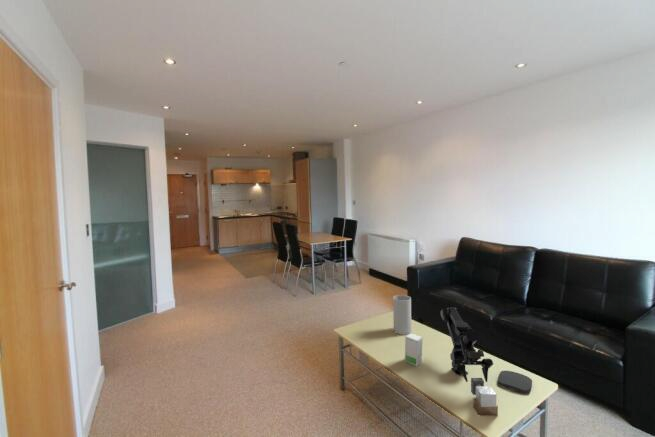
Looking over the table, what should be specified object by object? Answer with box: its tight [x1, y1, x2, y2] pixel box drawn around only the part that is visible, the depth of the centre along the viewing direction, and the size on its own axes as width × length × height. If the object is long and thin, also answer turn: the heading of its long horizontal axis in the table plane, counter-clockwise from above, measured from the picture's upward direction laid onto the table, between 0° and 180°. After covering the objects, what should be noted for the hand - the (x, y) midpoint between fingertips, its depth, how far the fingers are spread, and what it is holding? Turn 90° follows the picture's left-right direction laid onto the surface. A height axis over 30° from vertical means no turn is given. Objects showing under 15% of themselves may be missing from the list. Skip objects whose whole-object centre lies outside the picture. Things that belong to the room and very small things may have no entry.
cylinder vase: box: [392, 294, 412, 336], centre depth 229 cm, size 12×12×25 cm
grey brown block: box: [472, 385, 499, 417], centre depth 144 cm, size 6×8×10 cm
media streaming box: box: [497, 370, 533, 395], centre depth 164 cm, size 15×15×3 cm
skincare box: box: [404, 332, 423, 367], centre depth 188 cm, size 8×7×16 cm
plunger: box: [470, 377, 485, 396], centre depth 150 cm, size 8×5×7 cm, turn 177°
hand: (476, 381), depth 153 cm, fingers open, 9 cm apart
